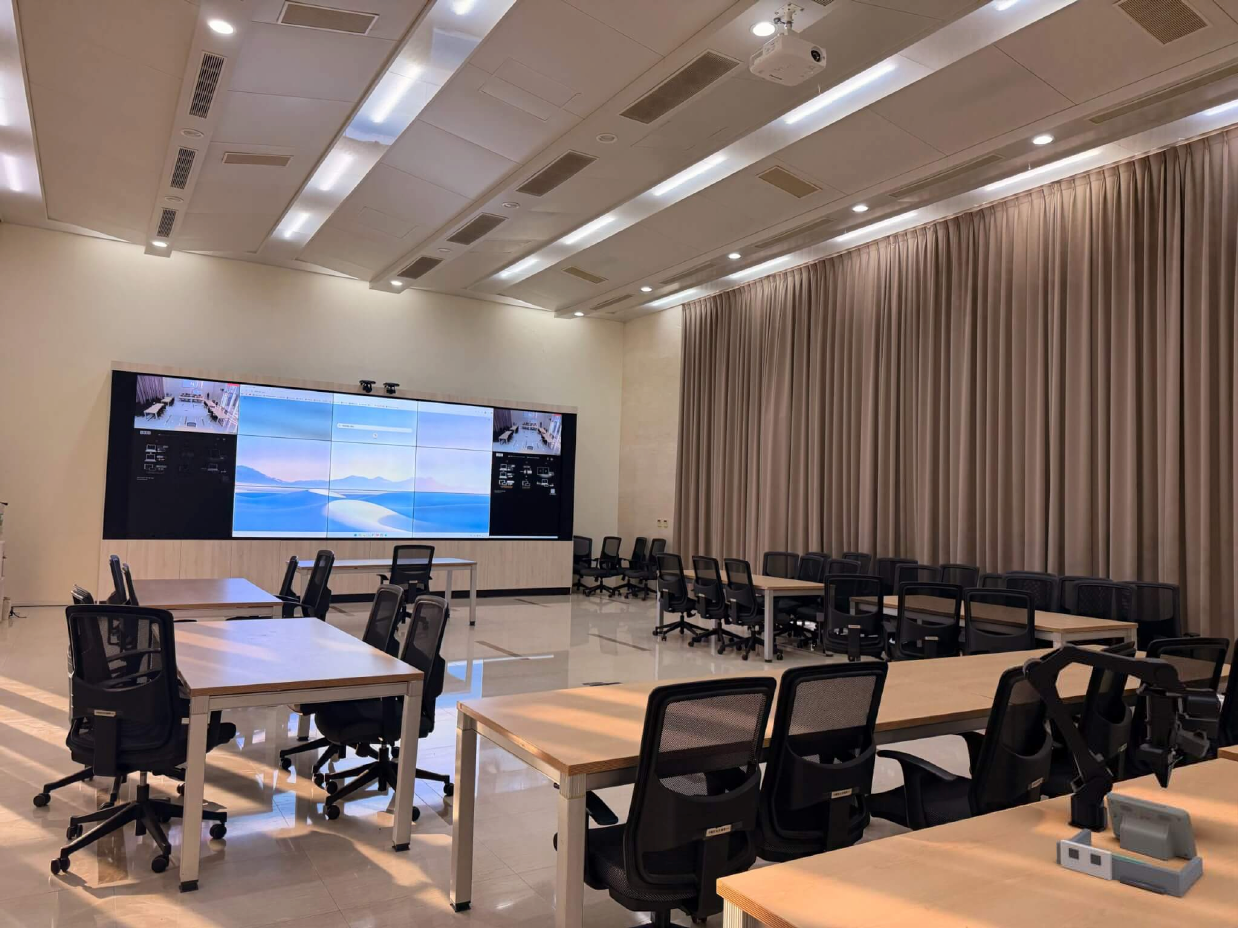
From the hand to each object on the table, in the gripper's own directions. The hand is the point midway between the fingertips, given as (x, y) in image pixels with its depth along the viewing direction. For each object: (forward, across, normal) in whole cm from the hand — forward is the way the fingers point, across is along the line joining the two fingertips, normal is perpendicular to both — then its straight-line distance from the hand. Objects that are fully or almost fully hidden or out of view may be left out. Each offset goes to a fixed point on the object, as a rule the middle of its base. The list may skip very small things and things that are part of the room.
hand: (1164, 787), depth 187 cm
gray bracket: (+10, -27, 0) cm, 29 cm away
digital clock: (+11, -12, 0) cm, 16 cm away
